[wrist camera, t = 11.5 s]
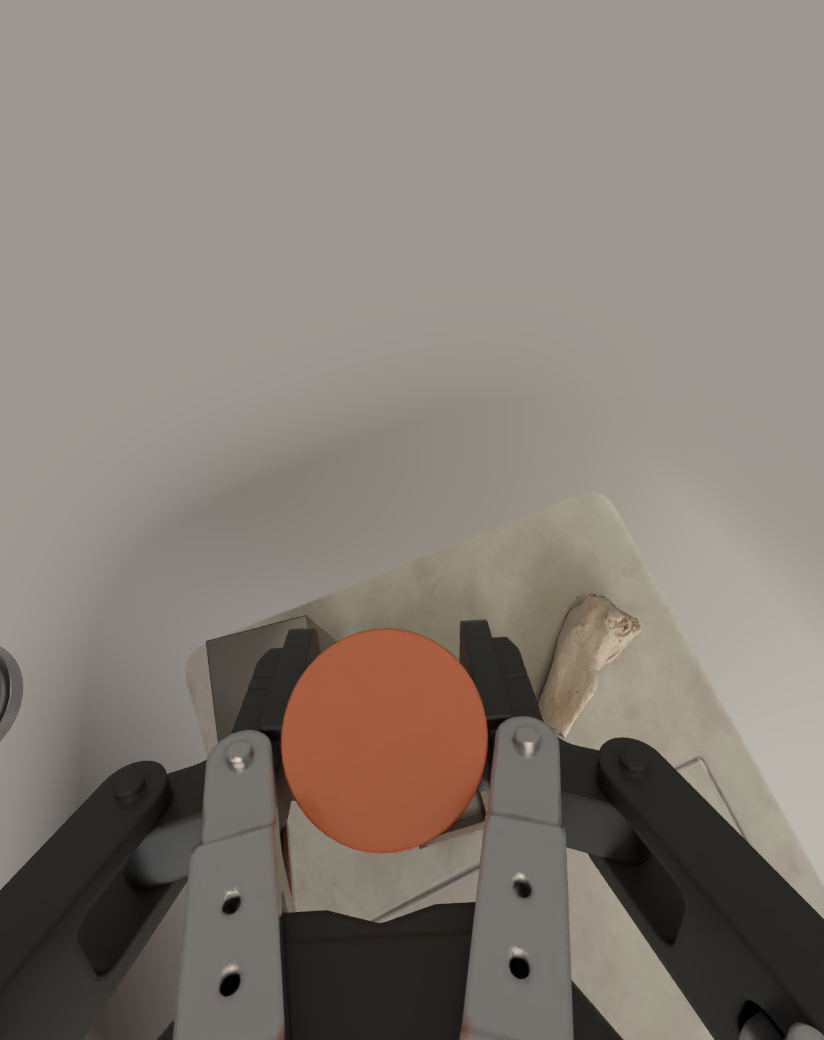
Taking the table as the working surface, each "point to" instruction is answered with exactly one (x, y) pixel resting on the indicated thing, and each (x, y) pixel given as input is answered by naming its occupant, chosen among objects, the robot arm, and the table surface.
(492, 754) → the robot arm
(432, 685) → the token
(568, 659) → the bone fragment
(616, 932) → the table surface
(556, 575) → the table surface
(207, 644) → the stand
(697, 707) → the table surface
